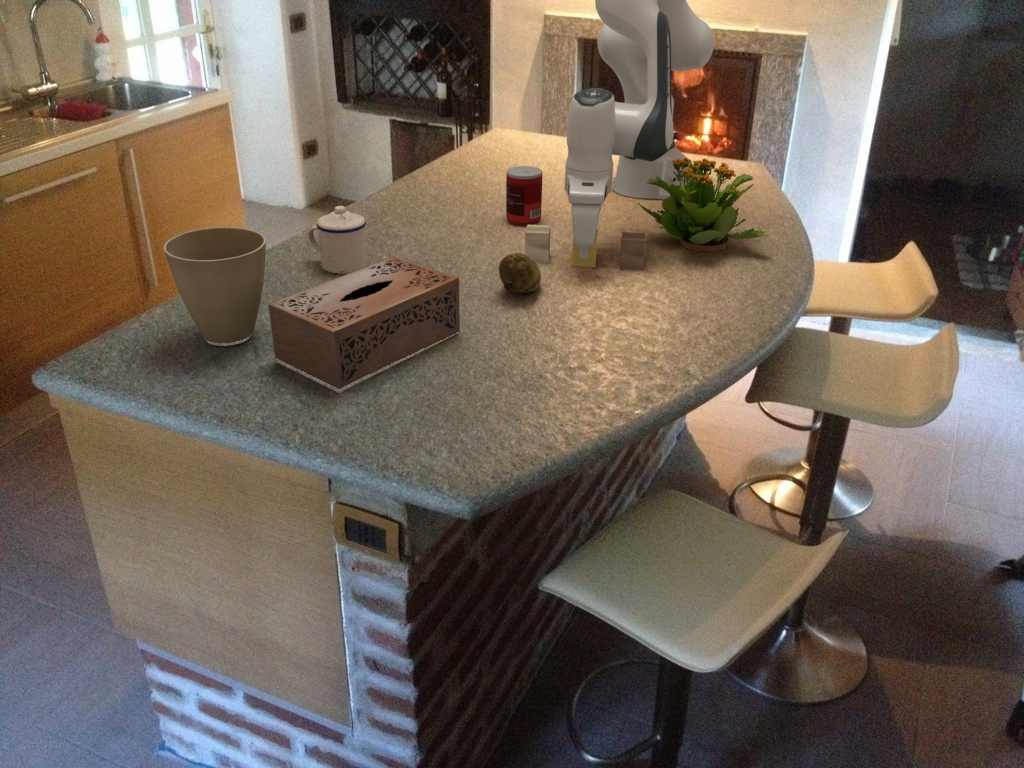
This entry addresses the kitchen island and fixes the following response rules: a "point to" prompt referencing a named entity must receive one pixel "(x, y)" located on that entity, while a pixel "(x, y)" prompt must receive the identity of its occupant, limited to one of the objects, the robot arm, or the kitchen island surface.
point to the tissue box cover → (365, 320)
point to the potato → (519, 273)
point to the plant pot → (219, 279)
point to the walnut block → (632, 251)
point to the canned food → (523, 195)
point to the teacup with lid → (341, 241)
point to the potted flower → (701, 206)
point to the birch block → (537, 243)
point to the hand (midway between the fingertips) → (584, 251)
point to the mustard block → (590, 260)
